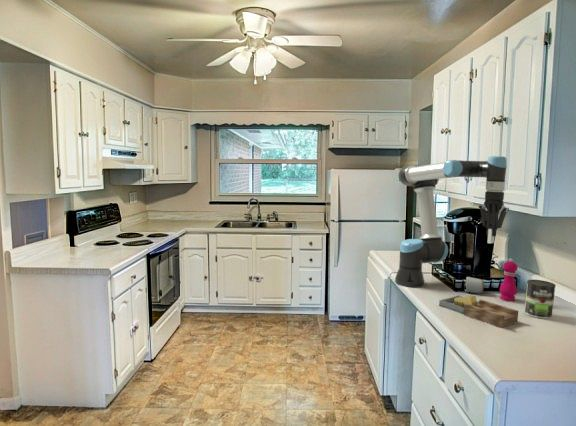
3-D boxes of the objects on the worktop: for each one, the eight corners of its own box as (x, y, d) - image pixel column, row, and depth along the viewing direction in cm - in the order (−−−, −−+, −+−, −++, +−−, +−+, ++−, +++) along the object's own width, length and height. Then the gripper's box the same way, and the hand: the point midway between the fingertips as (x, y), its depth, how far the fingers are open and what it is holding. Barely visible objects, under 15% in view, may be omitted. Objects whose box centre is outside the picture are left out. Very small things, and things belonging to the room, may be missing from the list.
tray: (439, 305, 182) (439, 300, 182) (457, 300, 190) (458, 295, 190) (463, 313, 172) (463, 308, 172) (482, 308, 180) (482, 302, 180)
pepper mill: (512, 302, 188) (516, 260, 186) (496, 298, 194) (499, 258, 191) (518, 299, 193) (522, 258, 191) (502, 296, 198) (505, 256, 196)
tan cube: (461, 309, 176) (453, 307, 179) (467, 308, 178) (459, 305, 181) (462, 300, 175) (454, 298, 179) (467, 299, 178) (459, 296, 181)
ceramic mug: (483, 295, 198) (484, 280, 197) (465, 293, 201) (466, 278, 200) (481, 290, 208) (482, 275, 207) (464, 288, 211) (465, 273, 210)
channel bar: (464, 315, 171) (464, 304, 170) (480, 310, 177) (481, 299, 177) (501, 328, 158) (502, 316, 157) (517, 322, 164) (518, 310, 164)
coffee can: (555, 320, 167) (558, 287, 165) (526, 316, 170) (529, 284, 169) (548, 312, 176) (551, 281, 175) (522, 309, 180) (524, 278, 178)
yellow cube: (463, 306, 175) (462, 297, 176) (469, 305, 177) (467, 295, 178) (472, 306, 172) (470, 297, 172) (477, 305, 174) (475, 295, 175)
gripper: (476, 190, 184) (472, 241, 187) (504, 192, 173) (500, 246, 176) (485, 190, 188) (481, 239, 191) (513, 191, 177) (509, 244, 180)
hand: (490, 242), depth 184 cm, fingers closed
